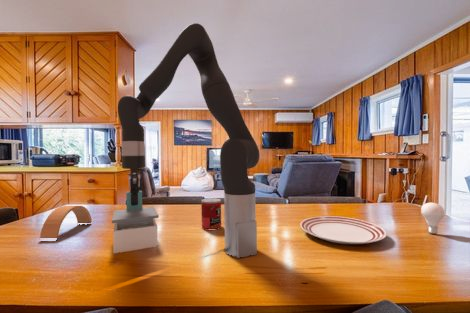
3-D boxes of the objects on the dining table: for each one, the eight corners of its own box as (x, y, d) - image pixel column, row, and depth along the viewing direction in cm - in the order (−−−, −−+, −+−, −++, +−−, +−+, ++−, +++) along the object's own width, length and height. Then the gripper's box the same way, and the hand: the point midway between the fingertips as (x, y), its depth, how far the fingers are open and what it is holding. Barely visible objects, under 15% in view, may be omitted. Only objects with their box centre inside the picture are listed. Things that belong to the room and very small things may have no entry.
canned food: (212, 231, 87) (211, 202, 87) (197, 228, 92) (197, 200, 92) (225, 226, 93) (225, 199, 93) (210, 223, 98) (210, 197, 98)
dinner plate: (403, 254, 66) (403, 242, 66) (303, 247, 72) (303, 236, 72) (368, 225, 93) (368, 217, 93) (298, 222, 99) (297, 214, 99)
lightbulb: (449, 237, 78) (449, 204, 78) (427, 236, 80) (427, 204, 80) (437, 231, 85) (436, 201, 85) (417, 230, 86) (417, 200, 86)
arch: (39, 242, 79) (38, 212, 79) (78, 224, 99) (78, 201, 99) (56, 241, 79) (55, 212, 79) (92, 224, 99) (92, 201, 99)
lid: (158, 221, 71) (158, 195, 72) (112, 227, 66) (111, 199, 66) (153, 212, 85) (153, 189, 85) (114, 216, 79) (114, 192, 79)
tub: (157, 248, 72) (157, 225, 72) (113, 256, 67) (113, 231, 67) (152, 235, 84) (152, 215, 84) (115, 240, 79) (115, 219, 79)
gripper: (146, 154, 77) (147, 207, 77) (143, 155, 89) (144, 200, 89) (121, 154, 74) (122, 209, 74) (122, 155, 86) (122, 202, 86)
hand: (134, 204), depth 81 cm, fingers closed on lid, 1 cm apart
